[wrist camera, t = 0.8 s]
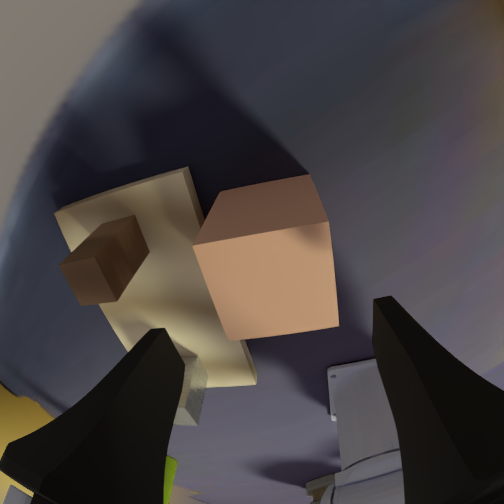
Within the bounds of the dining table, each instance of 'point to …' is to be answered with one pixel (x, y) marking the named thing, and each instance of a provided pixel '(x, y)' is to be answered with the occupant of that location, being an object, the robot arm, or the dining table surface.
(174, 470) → the soap dispenser
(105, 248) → the walnut post
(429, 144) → the dining table surface
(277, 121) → the dining table surface
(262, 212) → the tan cardboard box
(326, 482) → the tankard
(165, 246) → the birch board
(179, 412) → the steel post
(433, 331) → the dining table surface
